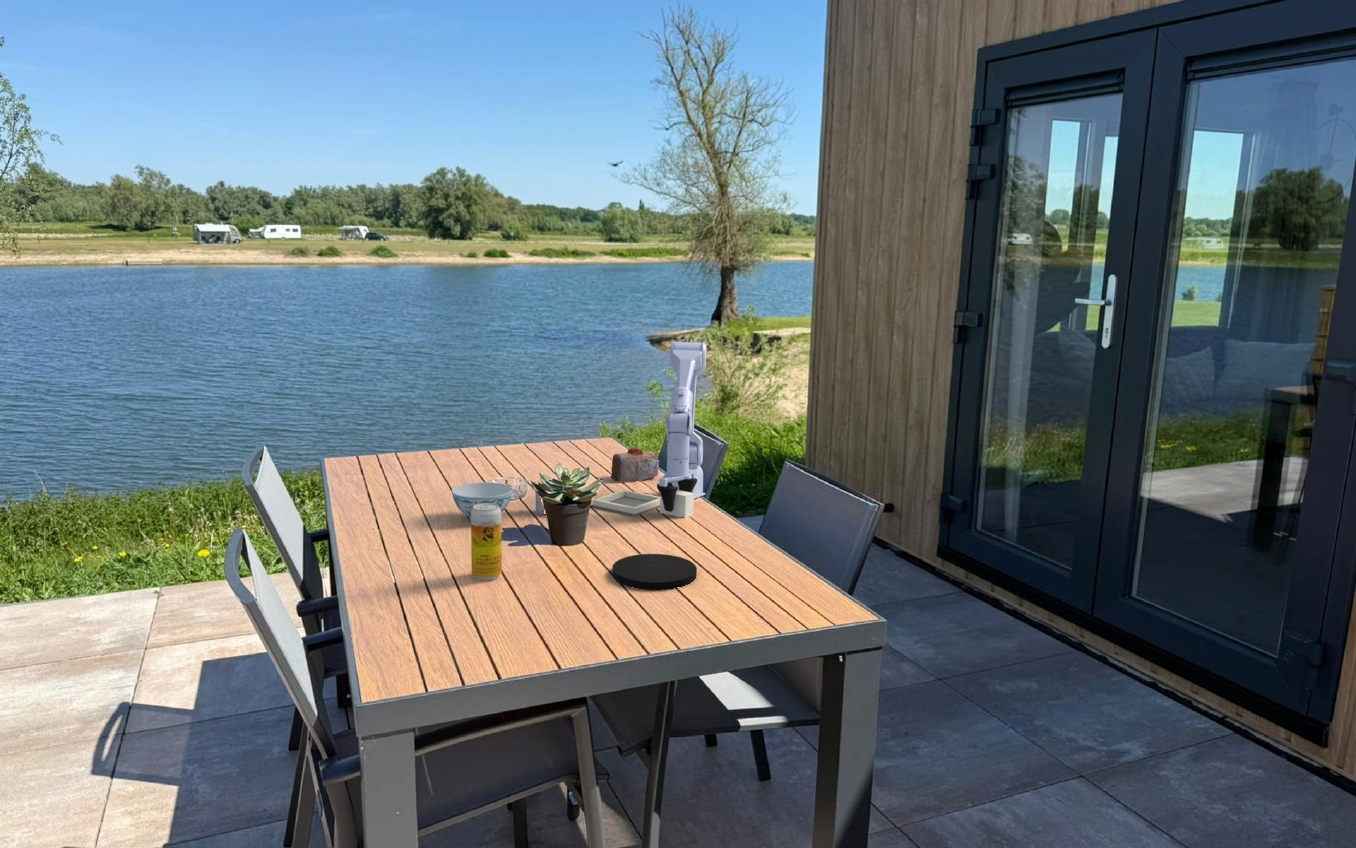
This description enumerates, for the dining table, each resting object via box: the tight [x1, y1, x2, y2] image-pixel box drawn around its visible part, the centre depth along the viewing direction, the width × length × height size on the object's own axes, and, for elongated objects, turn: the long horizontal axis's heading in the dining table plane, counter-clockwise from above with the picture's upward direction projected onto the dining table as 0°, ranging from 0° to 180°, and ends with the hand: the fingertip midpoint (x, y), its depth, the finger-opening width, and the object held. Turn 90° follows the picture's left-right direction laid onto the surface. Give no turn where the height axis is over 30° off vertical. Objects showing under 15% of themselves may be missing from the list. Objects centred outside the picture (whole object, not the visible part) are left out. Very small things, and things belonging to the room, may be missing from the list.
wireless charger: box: [611, 553, 698, 591], centre depth 182 cm, size 18×18×2 cm
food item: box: [610, 447, 660, 483], centre depth 264 cm, size 14×8×10 cm, turn 121°
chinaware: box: [451, 482, 514, 522], centre depth 218 cm, size 15×15×8 cm
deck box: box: [659, 490, 695, 519], centre depth 228 cm, size 4×8×6 cm, turn 57°
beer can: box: [470, 503, 503, 582], centre depth 177 cm, size 6×6×15 cm
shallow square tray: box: [591, 489, 660, 517], centre depth 235 cm, size 15×15×2 cm
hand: (676, 507), depth 228 cm, fingers open, 7 cm apart
